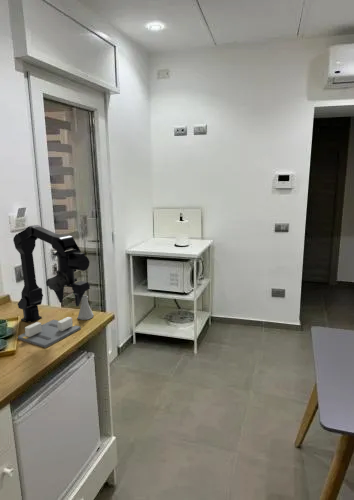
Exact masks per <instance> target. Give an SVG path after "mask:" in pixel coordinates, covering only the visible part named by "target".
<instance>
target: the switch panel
mask: <svg viewBox="0 0 354 500" xmlns="http://www.w3.org/2000/svg"><path fill="white" fill-rule="evenodd" d="M58 321H59V320H58V319H52V320H49V321H48V322H45V323H43V324H41V327H42V331H41V332H39V333H37V334H35V335H33V336H31V337H28V336H26V334H25V332H24V333H22V334H19V335H17V336H18V340H20V341H23V342H25V343H28V344H31V345H32V344H33V345H35V346H39V347H42V348H45V349H46V348H48V347H50V346H52V345H54V344H56V343H58V342H59V341H61V340H63V339H65V338H67V337H69V336H71V335H72V334H74V333H76V332H78V331H79V330H81V329H82V327H81V326H80V325H77V324H76V325H75V324H73V326H71V327H69V328H67V329H65V330H63V331H60V330H58V325H57V322H58Z"/></svg>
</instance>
